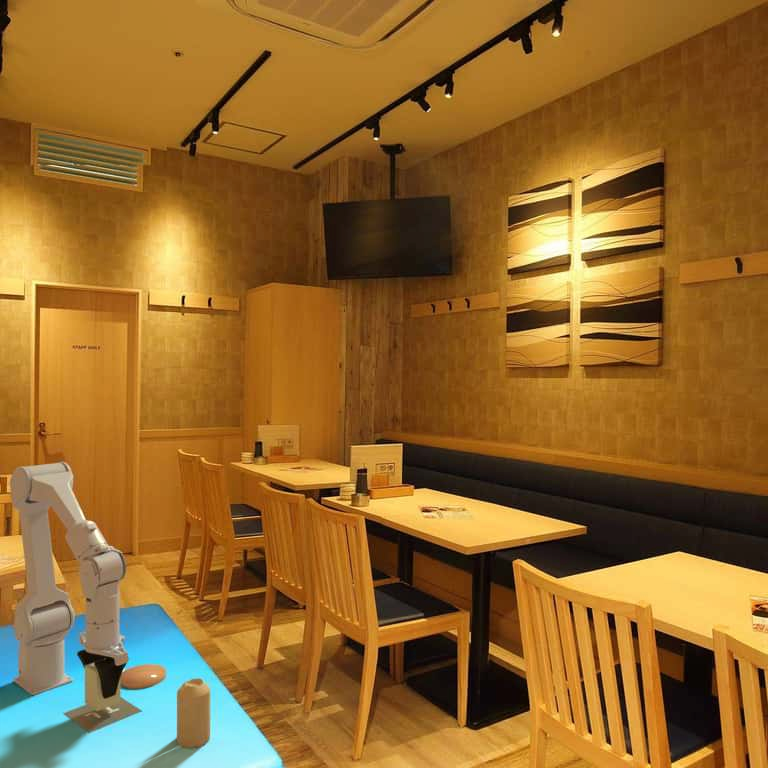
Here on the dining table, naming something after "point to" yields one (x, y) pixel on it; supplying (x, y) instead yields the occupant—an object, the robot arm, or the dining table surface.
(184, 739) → the candle
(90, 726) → the brown tile
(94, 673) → the block
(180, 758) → the dining table surface
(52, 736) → the dining table surface
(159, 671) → the orange disc
